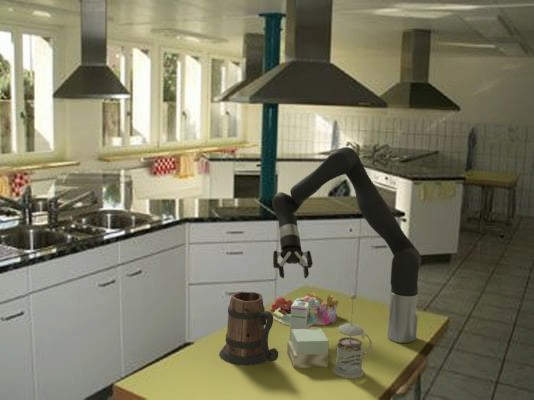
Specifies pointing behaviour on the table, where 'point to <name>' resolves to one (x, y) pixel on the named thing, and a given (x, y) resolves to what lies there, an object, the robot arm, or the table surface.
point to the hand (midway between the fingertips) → (294, 277)
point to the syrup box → (299, 315)
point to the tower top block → (309, 341)
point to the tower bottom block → (306, 359)
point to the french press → (348, 365)
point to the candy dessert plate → (317, 310)
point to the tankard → (248, 331)
